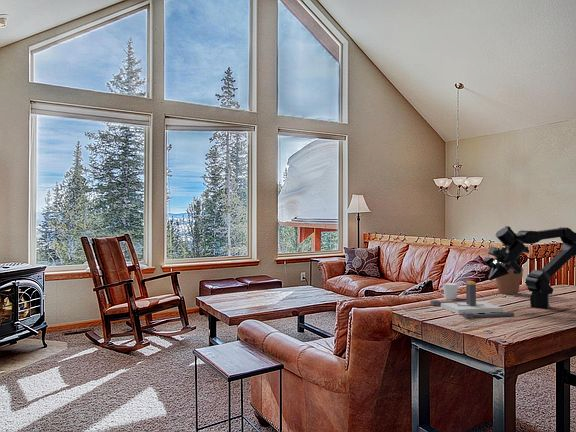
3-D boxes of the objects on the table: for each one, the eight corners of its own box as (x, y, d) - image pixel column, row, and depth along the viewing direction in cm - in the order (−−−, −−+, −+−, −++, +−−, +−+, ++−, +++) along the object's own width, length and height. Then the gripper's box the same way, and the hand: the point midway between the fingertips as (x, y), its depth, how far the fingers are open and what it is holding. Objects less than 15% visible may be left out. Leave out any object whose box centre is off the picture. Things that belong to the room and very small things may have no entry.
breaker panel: (482, 305, 195) (482, 301, 195) (503, 312, 181) (503, 307, 181) (440, 307, 191) (440, 302, 191) (458, 314, 178) (458, 309, 178)
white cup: (459, 299, 210) (459, 285, 210) (444, 299, 211) (444, 284, 211) (456, 297, 217) (456, 282, 217) (442, 296, 218) (442, 282, 218)
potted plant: (490, 290, 235) (489, 243, 235) (517, 291, 233) (516, 243, 233) (498, 295, 221) (498, 245, 221) (527, 295, 219) (527, 245, 219)
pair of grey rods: (473, 302, 202) (473, 298, 202) (515, 316, 174) (515, 311, 174) (430, 304, 198) (430, 300, 198) (466, 318, 170) (466, 313, 170)
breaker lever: (471, 303, 188) (471, 281, 188) (475, 305, 185) (475, 282, 185) (466, 303, 187) (466, 281, 188) (470, 305, 185) (470, 282, 185)
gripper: (486, 239, 198) (464, 264, 196) (514, 241, 180) (490, 269, 178) (502, 256, 199) (480, 281, 197) (532, 260, 181) (508, 288, 179)
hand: (489, 279), depth 188 cm, fingers closed
